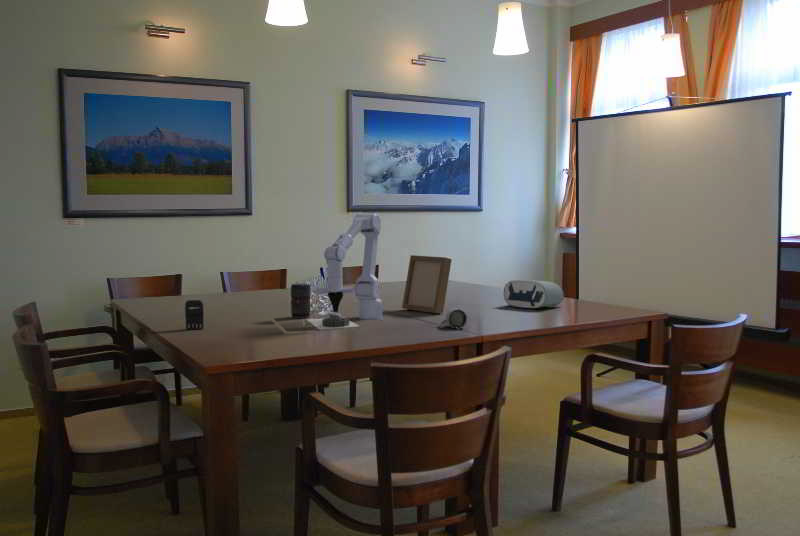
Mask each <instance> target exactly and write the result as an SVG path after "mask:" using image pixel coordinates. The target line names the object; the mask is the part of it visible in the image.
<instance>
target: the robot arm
mask: <svg viewBox="0 0 800 536" xmlns="http://www.w3.org/2000/svg"><path fill="white" fill-rule="evenodd" d="M381 224H382V220H381V218H380V216H379V215H378V213H356V214H355V215H354V217H353V218H352V224H351V225H350V226H349V228H348V229H347V231H346V232H345V233H341V234H340V235H339V236H338V238H337V239H336V240H335V241H334V242H333V244H332V245H329V246H327V247H326V249H325V251H324V253H323V256H324V259H325V263H326V265H327V287H324V288H323V287H322V288H316V291H315V292H316V295H323V294H324V295H325V294H327V297H328V299H329V301H330V303H331V306H332V307H331V308H332V312H333V313H338V312H339V308H340V303H341V301H342V300H343V297H344V294H347V293H351V294H353V293H354V294H355V296H356V297H357V299H358V319H360V320H373V319H377V320H378V321H383V320H384V319H383V302H382V299H381V298H379V297H380V294H381V281H380V279H378V278H377V277H376V275H375V274H376V267H377V266H376V263H377V256H378V255H377V254H378V246H379V244H378V243H379V235H380V233H381V226H382V225H381ZM359 233H360V234H361V235H363V236H364V237H365V242H364V252H363V260H362V269H361V271H362V272H361V275H359V277H357V278H356V282H355V286H354V287H352V286H351V287H350V286H349V287H343V285H344V284H343V283H344V281H343V275H344V274H343V260H345V259H346V255H347V252H348V250H349V249H350V247H351V246H352V245H353V244H354V240H353V239H354V238H355V237H356V236H357V235H359Z"/></svg>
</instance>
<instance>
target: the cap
mask: <svg viewBox="0 0 800 536" xmlns="http://www.w3.org/2000/svg"><path fill="white" fill-rule="evenodd" d="M342 317H343V314H341V313H330V314H329V317H328V318H329V321H342Z"/></svg>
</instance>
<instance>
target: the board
mask: <svg viewBox="0 0 800 536" xmlns="http://www.w3.org/2000/svg"><path fill="white" fill-rule="evenodd" d="M305 319H306V321H307V322H309V323H310V324H311V325H313V326H314V327H316V329H317V330H316V331H318V332H328V331H327V330H332V331H345V330H346V329H349V330H360V329H361V327H360V326H359V324H357V323H354V322H353V321H351V320H350V319H349V318H347V317H344V316H342V321H329V317H326V318H305Z"/></svg>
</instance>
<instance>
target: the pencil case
mask: <svg viewBox="0 0 800 536" xmlns="http://www.w3.org/2000/svg"><path fill="white" fill-rule="evenodd" d="M564 297H565V295H564V291H563V288H562V287H561V286H560V285H559V284H557V283H555V282H552V281H548V280H534V279H522V280H521V279H520V280H519V279H518V280H517V279H516V280H510V281H508V282H507V283H506V284H505V285H504V289H503V299H504V301H505V302H506V304H508V305H509V306H511V307H516V308H521V309H525V308H526V309H541V307H546V308H549V307H548V306H552V307H555V306H558V305H560V304H561V303H562V302H563V301H564Z"/></svg>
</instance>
